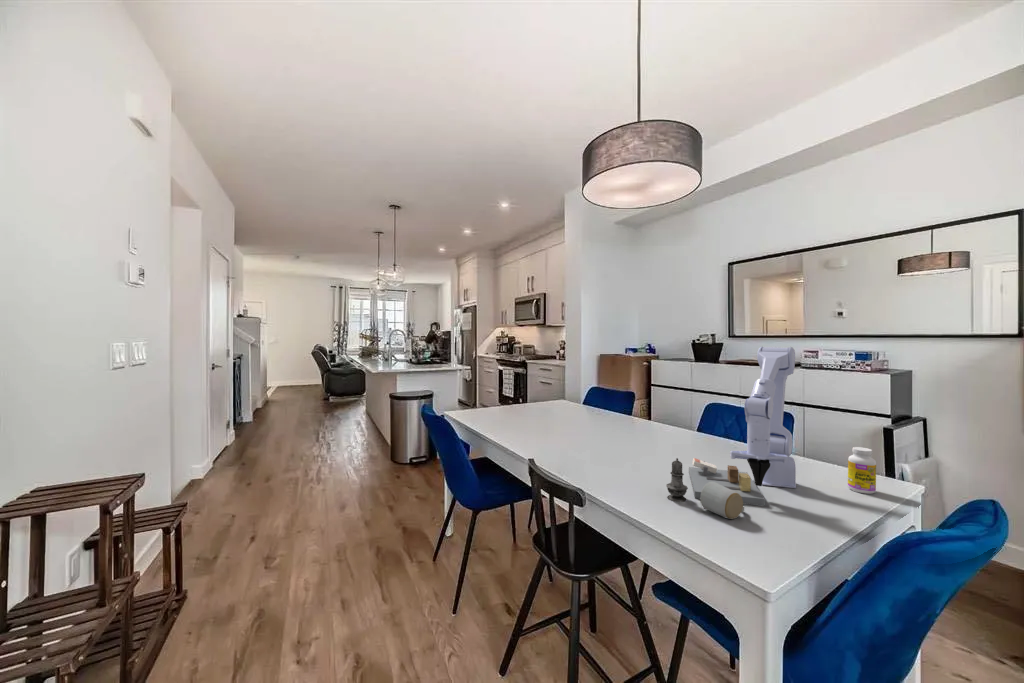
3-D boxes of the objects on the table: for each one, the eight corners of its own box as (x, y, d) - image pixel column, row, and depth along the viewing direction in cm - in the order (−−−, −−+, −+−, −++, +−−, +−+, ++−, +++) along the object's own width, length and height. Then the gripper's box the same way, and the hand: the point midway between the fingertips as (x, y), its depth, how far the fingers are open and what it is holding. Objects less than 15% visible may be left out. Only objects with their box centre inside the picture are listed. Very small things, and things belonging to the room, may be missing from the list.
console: (747, 478, 140) (747, 464, 139) (764, 506, 117) (765, 489, 117) (688, 472, 145) (688, 458, 145) (694, 498, 123) (694, 481, 123)
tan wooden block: (747, 487, 125) (747, 473, 125) (750, 491, 121) (750, 478, 121) (738, 486, 126) (738, 472, 126) (741, 490, 122) (741, 477, 122)
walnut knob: (735, 478, 133) (736, 466, 132) (738, 482, 129) (738, 469, 129) (727, 477, 133) (727, 465, 133) (729, 482, 130) (729, 469, 129)
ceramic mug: (727, 523, 106) (727, 493, 106) (699, 511, 114) (699, 483, 113) (752, 515, 111) (753, 487, 111) (724, 504, 118) (725, 477, 118)
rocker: (713, 469, 141) (715, 464, 141) (715, 473, 136) (717, 468, 136) (692, 462, 143) (693, 457, 143) (693, 466, 138) (694, 461, 138)
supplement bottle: (851, 492, 127) (852, 450, 127) (844, 485, 133) (845, 445, 133) (879, 496, 124) (880, 452, 124) (871, 488, 130) (871, 447, 130)
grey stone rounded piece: (689, 503, 119) (689, 461, 119) (667, 501, 120) (668, 460, 120) (685, 495, 125) (685, 455, 125) (664, 494, 126) (664, 454, 126)
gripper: (733, 439, 121) (732, 486, 121) (791, 443, 116) (791, 492, 116) (729, 434, 128) (728, 478, 128) (784, 438, 123) (783, 484, 123)
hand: (758, 484), depth 123 cm, fingers closed
